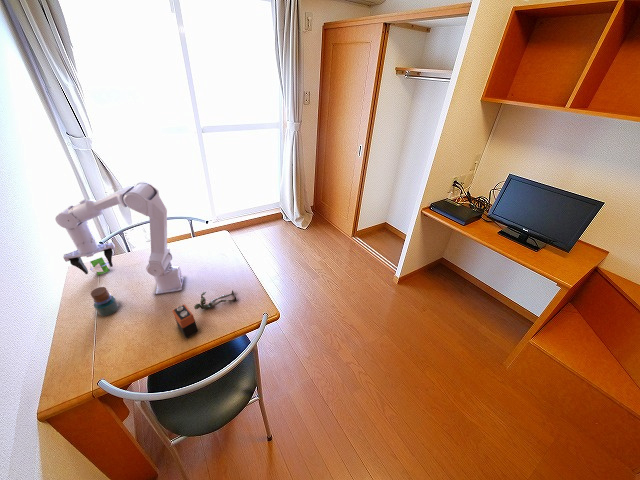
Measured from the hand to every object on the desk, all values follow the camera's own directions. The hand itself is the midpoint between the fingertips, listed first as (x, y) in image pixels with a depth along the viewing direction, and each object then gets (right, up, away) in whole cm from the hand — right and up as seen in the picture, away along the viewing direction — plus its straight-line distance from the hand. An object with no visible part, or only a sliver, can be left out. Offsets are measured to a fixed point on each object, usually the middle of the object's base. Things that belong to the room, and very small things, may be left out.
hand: (99, 268), depth 102 cm
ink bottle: (+6, -15, -3) cm, 16 cm away
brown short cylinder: (+6, -10, -6) cm, 13 cm away
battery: (+38, -21, -8) cm, 44 cm away
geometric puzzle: (-10, -3, +14) cm, 17 cm away
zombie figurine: (+44, -14, +2) cm, 46 cm away
